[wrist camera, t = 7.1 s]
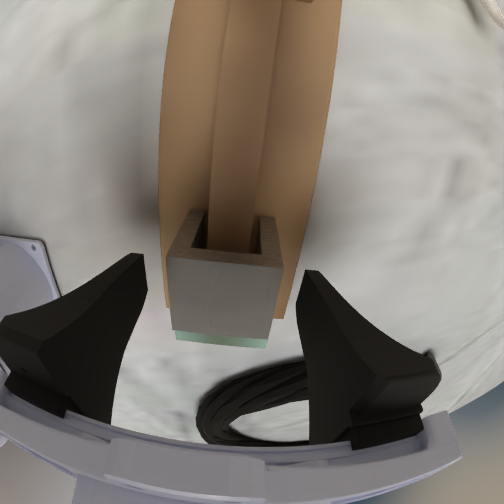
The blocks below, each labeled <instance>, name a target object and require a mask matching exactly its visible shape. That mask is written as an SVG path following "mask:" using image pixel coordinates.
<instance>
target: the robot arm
mask: <svg viewBox="0 0 504 504" xmlns="http://www.w3.org/2000/svg"><path fill="white" fill-rule="evenodd" d="M147 292H148V287H147V280H146V272H145V264H144V255H143V254H139V253H130V254H128V255H127V256H125V257H123V258H122V259H121V260H119V261H118V262H116V263H115V264H113V265H112V266H111V267H109V268H108V269H106V270H105V271H103V272H102V273H101V274H99V275H97V276H96V277H94V278H93V279H91V280H90V281H88V282H87V283H85V284H84V285H82V286H80V287H79V288H77V289H75V290H73V291H71V292H70V293H68V294H66V295H64V296H62V297H60V294H59V292H58V289H57V286H56V283H55V280H54V277H53V274H52V271H51V268H50V265H49V261H48V258H47V255H46V251H45V247H44V245H43V243H42V242H41V241H39V240H31V239H23V238H15V237H8V236H0V447H1V446H2V445H4V444H5V442H6V441H7V440H9V441H11V442H12V443H14V444H15V445H17V446H19V447H20V448H21V449H23V450H25V451H26V452H28V453H29V454H31V455H33V456H35V457H36V458H38V459H40V460H41V461H43V462H45V463H47V464H49V465H51V466H53V467H55V468H57V469H58V470H61V471H62V472H65V473H67V474H69V475H71V476H73V477H75V478H77V481H76V485H75V490H74V496H73V500H72V504H346V503H350V502H354V501H359V500H362V499H366V498H370V497H373V496H376V495H380V494H383V493H386V492H389V491H392V490H395V489H398V488H400V487H403V486H406V485H408V484H411V483H413V482H416V481H418V480H421V479H423V478H425V477H428V476H430V475H431V474H434V473H436V472H438V471H440V470H441V469H443V468H445V467H447V466H449V465H450V464H452V463H454V462H456V461H457V460H459V459H461V458H462V456H463V455H462V452H461V449H460V446H459V443H458V440H457V437H456V434H455V431H454V428H453V426H452V423H451V420H450V417H449V415H448V412H447V411H442V412H439V413H436V414H433V415H430V416H427V417H425V418H423V419H422V420H421V417H420V413H422V412H423V408H422V406H421V403H422V402H423V401H424V400H425V399H426V398H427V397H428V396H429V395H430V394H431V393H432V392H433V391H434V390H435V389H436V388H437V386H438V384H439V383H440V380H441V376H440V374H439V372H438V369H437V367H436V365H435V363H434V361H433V359H431V358H428V357H426V356H424V355H422V354H419V353H417V352H415V351H413V350H411V349H409V348H407V347H406V346H404V345H402V344H400V343H399V342H397V341H395V340H394V339H392V338H391V337H389V336H388V335H386V334H385V333H383V332H382V331H380V330H379V329H378V328H376V327H375V326H374V325H372V324H371V323H370V322H369V321H368V320H366V319H365V318H364V317H363V316H362V315H360V314H359V313H358V312H357V311H356V310H355V309H354V308H353V307H352V306H351V305H350V304H349V303H348V302H347V301H346V300H345V299H344V298H343V297H342V296H341V295H340V294H339V293H338V292H337V290H336V289H335V288H334V287H333V286H332V285H331V284H330V283H329V282H328V281H327V279H326V278H325V277H324V276H323V275H322V274H321V273H320V272H319V271H315V270H305V272H304V276H303V280H302V284H301V287H300V291H299V294H298V298H297V301H296V317H297V325H298V330H299V335H300V340H301V344H302V349H303V354H304V358H305V363H306V369H307V379H308V392H309V446H293V447H239V446H223V445H211V444H202V443H194V442H187V441H180V440H174V439H168V438H163V437H157V436H153V435H148V434H143V433H139V432H135V431H131V430H127V429H123V428H120V427H116V426H113V425H111V417H112V408H113V401H114V394H115V388H116V383H117V379H118V374H119V370H120V366H121V362H122V358H123V354H124V351H125V349H126V346H127V343H128V341H129V339H130V336H131V334H132V332H133V329H134V327H135V325H136V322H137V320H138V318H139V315H140V313H141V311H142V308H143V305H144V302H145V299H146V295H147Z"/></svg>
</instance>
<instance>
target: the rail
mask: <svg viewBox="0 0 504 504" xmlns="http://www.w3.org/2000/svg"><path fill="white" fill-rule="evenodd" d="M341 5H342V0H175V4H174V9H173V14H172V20H171V25H170V32H169V38H168V45H167V52H166V60H165V68H164V77H163V88H162V100H161V114H160V134H159V220H160V240H161V256H162V269H163V280H164V290H165V299H166V307H167V308H170V304H169V294H168V283H167V271H166V254H167V252H168V250H169V248H170V246H171V244H172V243H173V241H174V239H175V237H176V235H177V233H178V231H179V229H180V227H181V225H182V223H183V221H184V219H185V218H186V216H187V214H188V212H189V210H190V209H193V210H205V227H204V249H208V250H218V251H228V252H238V253H248V254H254V253H255V245H256V238H257V231H258V224H259V217H260V216H266V217H275V220H276V225H277V231H278V236H279V242H280V248H281V253H282V259H283V265H284V271H283V276H282V280H281V285H280V289H279V294H278V298H277V302H276V307H275V311H274V315H273V318H276V319H283V318H284V315H285V311H286V307H287V303H288V300H289V296H290V292H291V288H292V284H293V280H294V276H295V272H296V268H297V264H298V260H299V255H300V251H301V247H302V243H303V238H304V234H305V229H306V225H307V220H308V216H309V211H310V206H311V202H312V197H313V192H314V187H315V182H316V177H317V172H318V167H319V161H320V156H321V151H322V145H323V140H324V134H325V128H326V122H327V116H328V110H329V103H330V97H331V90H332V83H333V76H334V69H335V61H336V53H337V45H338V36H339V26H340V16H341ZM175 334H176V339H177V340H184V341H192V342H200V343H208V344H218V345H228V346H239V347H252V348H266V344H267V339H252V338H240V337H229V336H218V335H209V334H200V333H192V332H185V331H177V330H175Z"/></svg>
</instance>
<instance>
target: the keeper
mask: <svg viewBox="0 0 504 504" xmlns="http://www.w3.org/2000/svg"><path fill="white" fill-rule="evenodd" d="M204 227H205V210H193V209H190V210H189V212H188V214H187V216H186V218H185V219H184V221H183V223H182V225H181V227H180V229H179V231H178V233H177V235H176V237H175V239H174V241H173V243H172V244H171V246H170V248H169V250H168V252H167V254H166V271H167V283H168V294H169V304H170V313H171V322H172V330H177V331H185V332H192V333H200V334H209V335H218V336H229V337H240V338H252V339H267V340H268V336H269V332H270V328H271V324H272V320H273V315H274V311H275V307H276V302H277V298H278V294H279V289H280V285H281V280H282V276H283V271H284V265H283V259H282V253H281V248H280V242H279V236H278V231H277V225H276V220H275V217H266V216H260V217H259V224H258V231H257V238H256V245H255V253H254V254H248V253H238V252H228V251H218V250H208V249H204Z"/></svg>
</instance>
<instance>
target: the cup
mask: <svg viewBox="0 0 504 504" xmlns="http://www.w3.org/2000/svg"><path fill="white" fill-rule="evenodd" d="M481 2H482V4H483V6H484V7H485V9H486V11H487V12H488V14H489V15H490V17H491V18H492V19H493V20H494V21H495V22H496V24H497V25H498V26H500V27H501V28H502V29H503V30H504V14H503V13H502V11H501V10H500V8H499V6H498V4H497V2H496V0H481Z"/></svg>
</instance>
